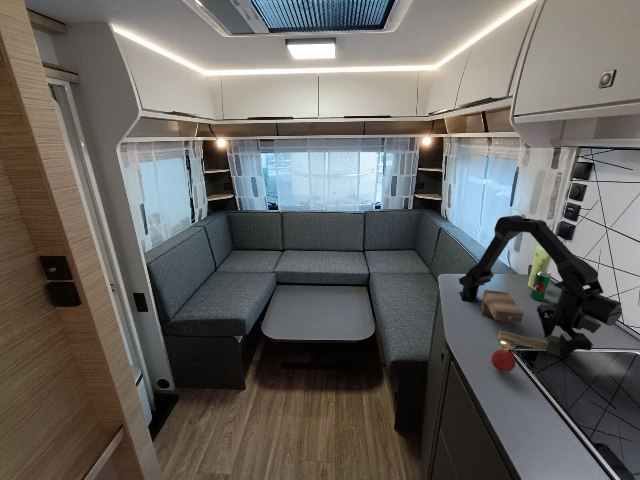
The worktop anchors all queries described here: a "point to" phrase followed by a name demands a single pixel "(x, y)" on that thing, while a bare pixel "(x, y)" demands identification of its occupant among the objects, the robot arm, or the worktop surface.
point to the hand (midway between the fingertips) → (554, 347)
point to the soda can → (540, 284)
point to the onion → (503, 360)
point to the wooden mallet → (534, 342)
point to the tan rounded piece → (507, 344)
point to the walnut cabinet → (500, 306)
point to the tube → (539, 263)
